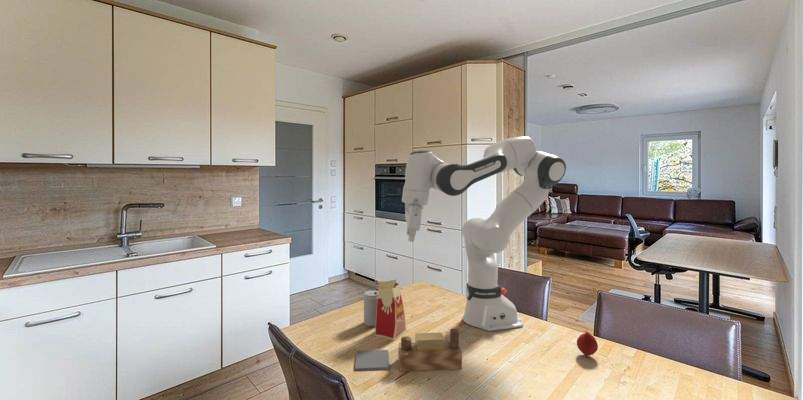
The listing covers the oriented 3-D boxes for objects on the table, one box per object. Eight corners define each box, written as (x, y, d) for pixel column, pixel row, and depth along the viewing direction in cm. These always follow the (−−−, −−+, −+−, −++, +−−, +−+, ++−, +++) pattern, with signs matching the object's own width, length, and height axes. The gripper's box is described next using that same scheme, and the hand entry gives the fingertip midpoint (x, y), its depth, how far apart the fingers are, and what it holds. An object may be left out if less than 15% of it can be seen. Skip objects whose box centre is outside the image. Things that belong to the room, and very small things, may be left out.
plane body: (456, 356, 111) (456, 325, 110) (461, 368, 104) (462, 335, 103) (398, 358, 110) (398, 327, 109) (400, 371, 103) (400, 338, 102)
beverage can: (380, 327, 131) (380, 295, 130) (362, 327, 131) (362, 295, 130) (381, 320, 137) (381, 289, 136) (364, 320, 137) (364, 289, 136)
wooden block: (441, 343, 109) (441, 332, 109) (444, 350, 104) (444, 339, 104) (415, 344, 108) (415, 333, 108) (417, 351, 104) (417, 340, 103)
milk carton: (406, 330, 129) (406, 276, 127) (395, 341, 121) (395, 283, 119) (384, 325, 133) (384, 272, 131) (371, 335, 124) (371, 279, 123)
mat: (388, 351, 114) (388, 349, 114) (389, 369, 104) (389, 367, 104) (356, 352, 113) (356, 350, 113) (355, 370, 103) (355, 368, 103)
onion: (595, 352, 114) (596, 328, 113) (598, 362, 108) (600, 336, 107) (575, 349, 115) (576, 325, 115) (577, 358, 110) (578, 333, 109)
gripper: (427, 203, 110) (422, 246, 112) (421, 195, 131) (416, 232, 132) (407, 201, 110) (402, 244, 112) (404, 193, 130) (399, 230, 132)
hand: (410, 237), depth 122 cm, fingers open, 8 cm apart
